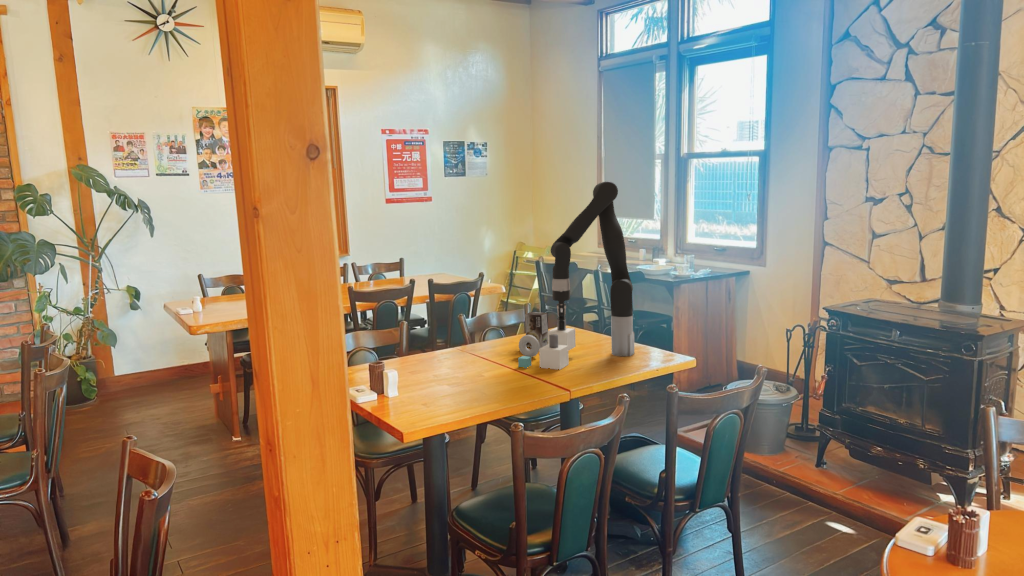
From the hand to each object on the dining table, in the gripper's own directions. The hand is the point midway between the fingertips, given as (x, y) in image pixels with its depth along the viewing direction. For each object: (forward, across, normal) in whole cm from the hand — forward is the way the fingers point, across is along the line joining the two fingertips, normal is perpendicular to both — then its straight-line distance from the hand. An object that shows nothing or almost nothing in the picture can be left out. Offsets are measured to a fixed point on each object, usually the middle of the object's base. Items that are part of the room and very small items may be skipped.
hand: (561, 328), depth 287 cm
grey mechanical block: (+13, -21, -11) cm, 27 cm away
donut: (+13, -2, -14) cm, 20 cm away
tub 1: (+9, 0, 0) cm, 9 cm away
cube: (+13, +14, -16) cm, 25 cm away
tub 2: (+13, +14, -3) cm, 20 cm away
